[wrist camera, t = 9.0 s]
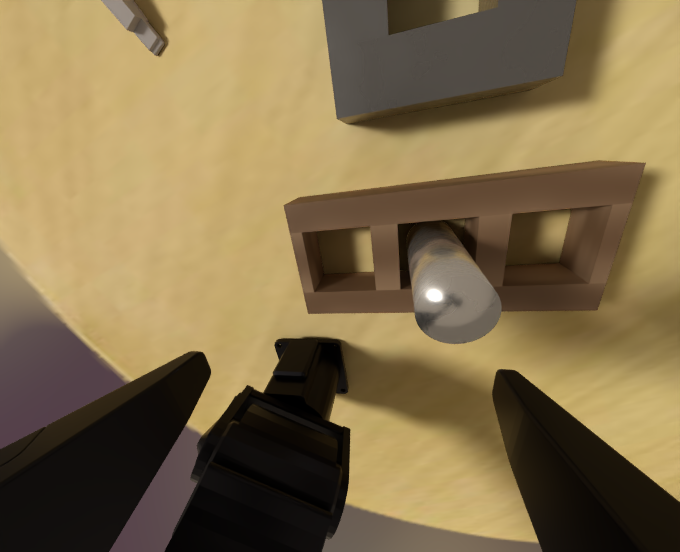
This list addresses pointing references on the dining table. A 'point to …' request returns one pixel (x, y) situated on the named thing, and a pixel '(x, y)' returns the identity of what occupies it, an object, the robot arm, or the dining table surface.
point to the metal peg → (448, 286)
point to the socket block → (442, 55)
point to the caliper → (135, 23)
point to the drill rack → (473, 235)
